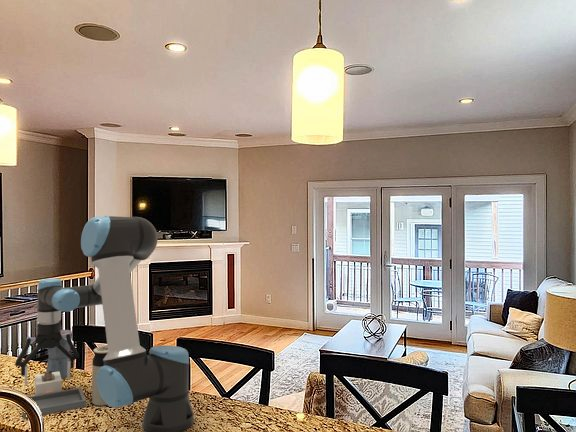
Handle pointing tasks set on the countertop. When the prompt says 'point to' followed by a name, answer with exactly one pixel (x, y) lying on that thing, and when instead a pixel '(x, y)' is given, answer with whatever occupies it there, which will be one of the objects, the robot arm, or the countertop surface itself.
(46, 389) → the white boxy piece
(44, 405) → the tray
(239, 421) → the countertop surface
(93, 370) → the travel mug
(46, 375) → the stake
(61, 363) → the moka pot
